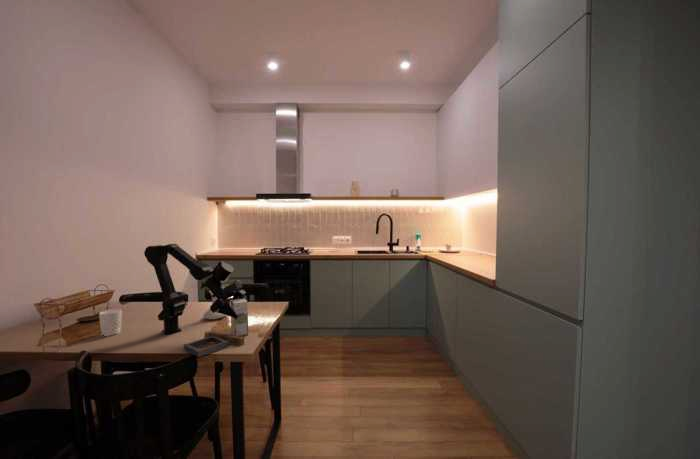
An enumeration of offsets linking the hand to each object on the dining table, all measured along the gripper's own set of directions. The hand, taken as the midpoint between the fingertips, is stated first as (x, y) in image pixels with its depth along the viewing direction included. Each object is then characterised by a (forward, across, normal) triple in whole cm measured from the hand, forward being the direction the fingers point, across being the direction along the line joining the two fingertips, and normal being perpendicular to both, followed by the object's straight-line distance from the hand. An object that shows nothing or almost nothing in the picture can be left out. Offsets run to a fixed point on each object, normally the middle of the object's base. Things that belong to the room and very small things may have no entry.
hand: (242, 314), depth 129 cm
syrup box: (+5, 0, +7) cm, 9 cm away
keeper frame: (+2, -15, +10) cm, 18 cm away
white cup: (-37, -6, +49) cm, 61 cm away
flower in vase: (-13, +21, +25) cm, 35 cm away
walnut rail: (+3, -8, +9) cm, 12 cm away
